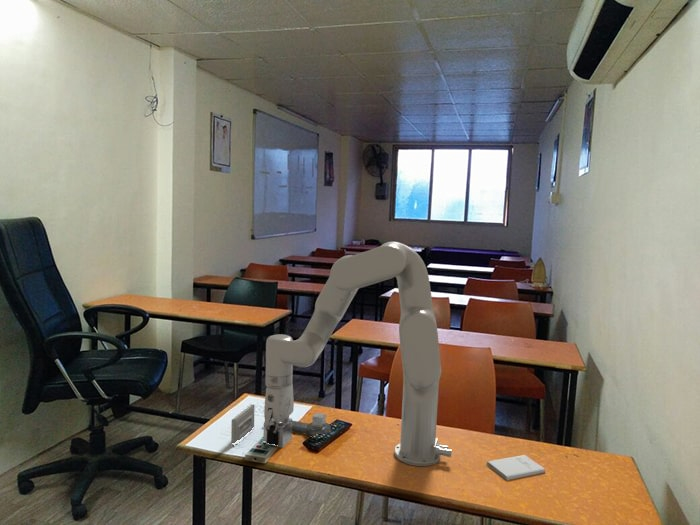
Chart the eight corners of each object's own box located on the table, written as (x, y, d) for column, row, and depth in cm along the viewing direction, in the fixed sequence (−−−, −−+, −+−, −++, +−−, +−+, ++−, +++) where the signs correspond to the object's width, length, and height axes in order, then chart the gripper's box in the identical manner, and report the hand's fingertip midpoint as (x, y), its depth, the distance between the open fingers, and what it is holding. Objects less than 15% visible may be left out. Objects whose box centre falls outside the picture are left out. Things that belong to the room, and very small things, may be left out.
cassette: (250, 428, 149) (250, 403, 149) (255, 429, 149) (256, 404, 148) (229, 446, 138) (229, 419, 137) (235, 447, 137) (235, 420, 137)
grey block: (291, 438, 144) (292, 418, 143) (282, 447, 138) (283, 427, 137) (273, 434, 145) (273, 415, 145) (263, 443, 140) (263, 423, 139)
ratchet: (262, 428, 149) (262, 410, 149) (272, 419, 156) (273, 402, 155) (325, 440, 143) (325, 422, 142) (333, 430, 150) (334, 412, 149)
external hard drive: (486, 466, 133) (523, 459, 137) (506, 482, 125) (545, 474, 130) (486, 460, 133) (524, 453, 137) (506, 476, 125) (545, 468, 130)
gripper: (277, 391, 130) (275, 456, 132) (303, 371, 147) (301, 429, 149) (251, 387, 133) (251, 451, 135) (280, 368, 149) (279, 425, 151)
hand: (277, 439), depth 142 cm, fingers closed on grey block, 6 cm apart
